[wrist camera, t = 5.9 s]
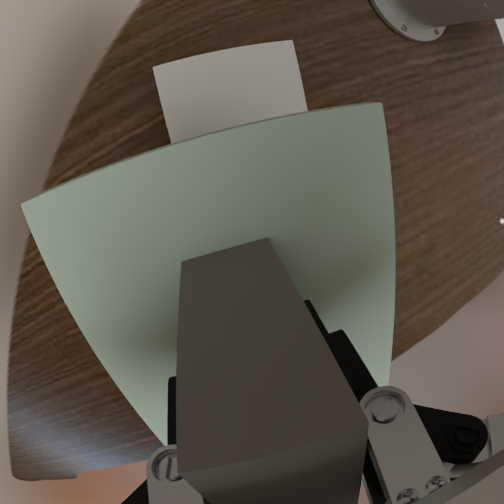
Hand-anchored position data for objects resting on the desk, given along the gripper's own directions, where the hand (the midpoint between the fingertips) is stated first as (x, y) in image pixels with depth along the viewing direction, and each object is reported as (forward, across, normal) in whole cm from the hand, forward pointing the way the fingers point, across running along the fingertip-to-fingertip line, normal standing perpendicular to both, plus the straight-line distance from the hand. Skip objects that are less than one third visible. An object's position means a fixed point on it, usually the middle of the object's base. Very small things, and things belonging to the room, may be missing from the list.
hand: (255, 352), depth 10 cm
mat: (+25, -4, -7) cm, 26 cm away
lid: (+3, 0, 0) cm, 3 cm away
